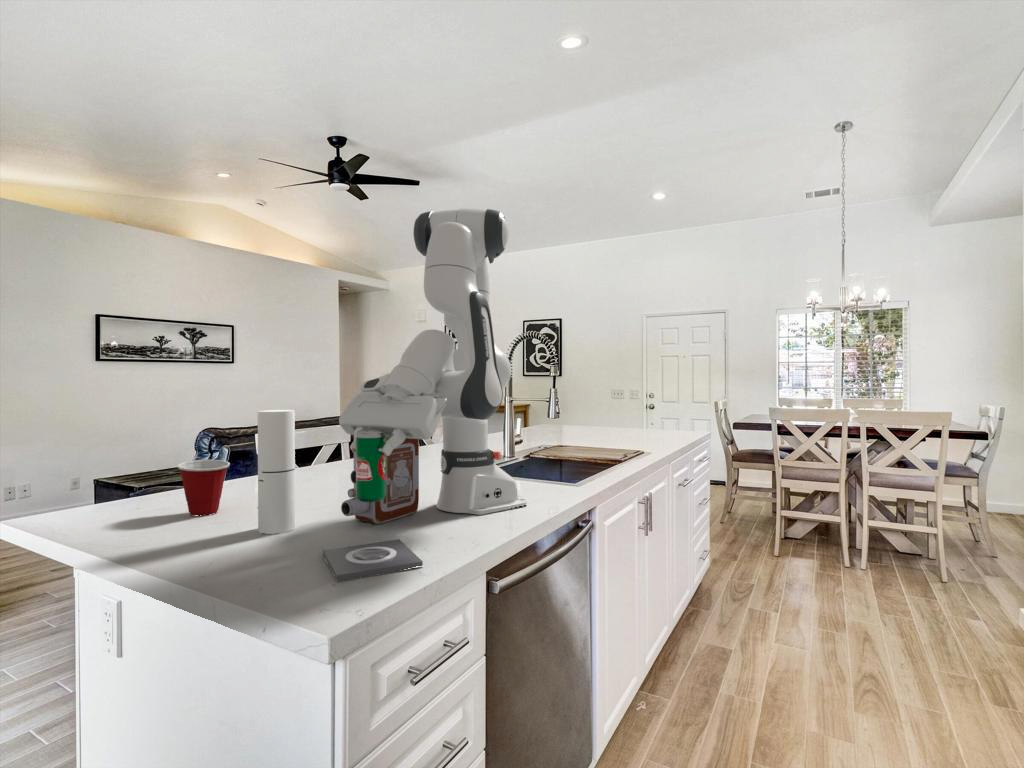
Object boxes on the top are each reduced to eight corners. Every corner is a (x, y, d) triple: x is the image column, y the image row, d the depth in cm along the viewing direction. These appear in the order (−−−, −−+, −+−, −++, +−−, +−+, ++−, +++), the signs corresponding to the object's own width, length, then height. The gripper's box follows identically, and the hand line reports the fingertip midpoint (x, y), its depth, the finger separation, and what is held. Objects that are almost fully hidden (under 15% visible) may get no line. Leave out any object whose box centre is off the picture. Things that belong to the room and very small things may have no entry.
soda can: (350, 499, 94) (349, 430, 94) (375, 494, 98) (374, 428, 98) (367, 504, 91) (366, 433, 91) (392, 498, 95) (391, 430, 94)
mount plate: (399, 544, 104) (399, 538, 104) (422, 567, 92) (422, 560, 92) (323, 555, 97) (323, 548, 97) (336, 581, 85) (336, 574, 85)
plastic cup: (193, 522, 120) (192, 468, 119) (167, 515, 125) (167, 463, 125) (240, 511, 129) (239, 461, 129) (214, 505, 134) (214, 457, 134)
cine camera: (329, 526, 117) (329, 433, 116) (395, 508, 133) (395, 426, 132) (358, 533, 111) (358, 436, 111) (423, 513, 128) (423, 428, 127)
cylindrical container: (281, 535, 110) (281, 412, 110) (250, 533, 111) (249, 411, 111) (302, 525, 117) (301, 410, 117) (272, 523, 118) (272, 409, 118)
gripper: (457, 406, 99) (424, 467, 91) (372, 403, 109) (336, 459, 100) (443, 382, 95) (407, 444, 87) (356, 382, 105) (317, 437, 96)
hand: (368, 452), depth 94 cm, fingers closed on soda can, 5 cm apart
